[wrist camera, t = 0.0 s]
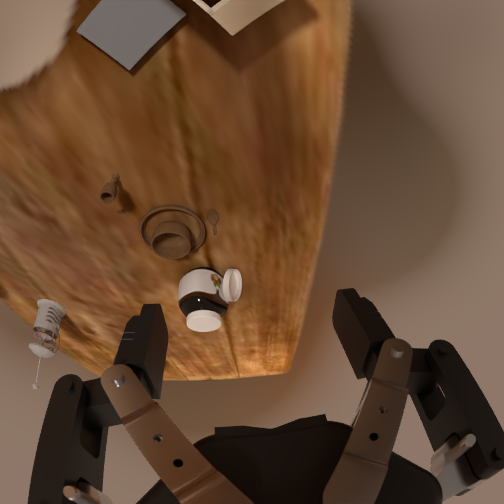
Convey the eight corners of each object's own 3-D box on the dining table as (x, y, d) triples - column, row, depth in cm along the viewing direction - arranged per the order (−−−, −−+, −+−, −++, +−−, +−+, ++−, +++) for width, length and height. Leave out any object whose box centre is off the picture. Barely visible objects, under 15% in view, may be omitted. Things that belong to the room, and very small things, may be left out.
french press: (55, 298, 64) (37, 385, 47) (74, 319, 73) (62, 398, 56) (31, 299, 63) (12, 380, 47) (51, 319, 72) (37, 394, 56)
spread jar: (174, 275, 61) (171, 323, 53) (208, 248, 56) (209, 300, 48) (215, 295, 68) (217, 339, 61) (250, 273, 63) (256, 320, 56)
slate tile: (79, 30, 22) (76, 31, 22) (132, -29, 18) (130, -29, 18) (131, 68, 29) (129, 70, 28) (187, 14, 24) (186, 14, 24)
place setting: (136, 252, 55) (132, 276, 51) (103, 170, 40) (92, 192, 36) (222, 244, 56) (223, 268, 52) (211, 154, 41) (211, 175, 37)
